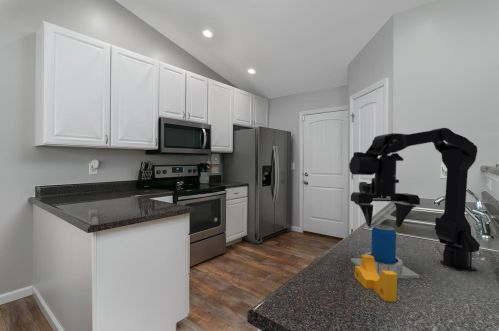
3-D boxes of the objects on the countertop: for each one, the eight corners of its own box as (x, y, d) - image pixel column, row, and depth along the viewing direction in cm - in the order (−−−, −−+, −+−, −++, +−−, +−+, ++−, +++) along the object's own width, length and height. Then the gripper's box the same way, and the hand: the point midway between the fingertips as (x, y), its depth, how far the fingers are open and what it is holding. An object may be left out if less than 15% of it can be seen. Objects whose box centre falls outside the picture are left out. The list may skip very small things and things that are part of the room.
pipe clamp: (354, 277, 68) (355, 254, 68) (369, 277, 68) (370, 254, 68) (377, 301, 56) (378, 274, 56) (396, 302, 56) (397, 274, 56)
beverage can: (392, 263, 75) (393, 225, 75) (397, 272, 69) (398, 230, 69) (369, 260, 77) (370, 223, 77) (372, 268, 71) (373, 228, 71)
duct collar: (391, 260, 80) (392, 251, 80) (419, 278, 68) (419, 266, 68) (350, 260, 79) (351, 250, 79) (371, 278, 67) (371, 266, 67)
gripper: (396, 175, 82) (395, 220, 82) (343, 173, 81) (342, 219, 81) (422, 176, 71) (420, 229, 71) (360, 175, 70) (358, 228, 70)
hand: (383, 226), depth 73 cm, fingers open, 9 cm apart
